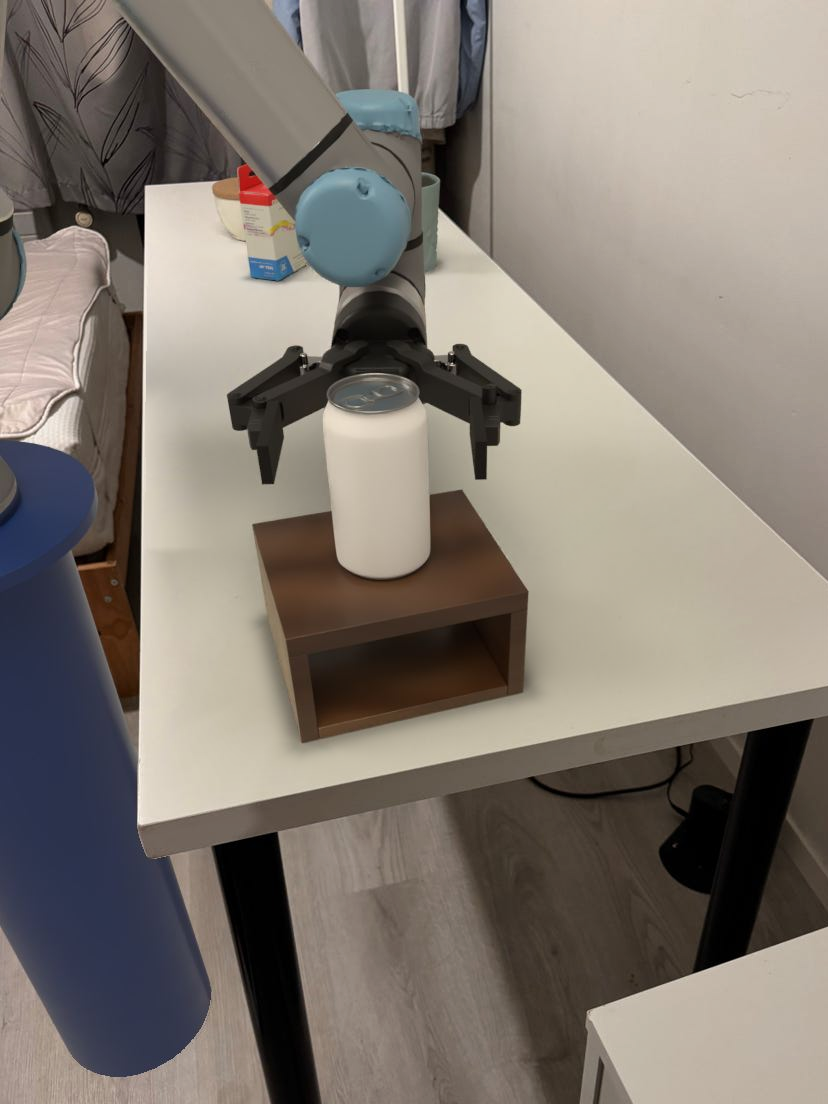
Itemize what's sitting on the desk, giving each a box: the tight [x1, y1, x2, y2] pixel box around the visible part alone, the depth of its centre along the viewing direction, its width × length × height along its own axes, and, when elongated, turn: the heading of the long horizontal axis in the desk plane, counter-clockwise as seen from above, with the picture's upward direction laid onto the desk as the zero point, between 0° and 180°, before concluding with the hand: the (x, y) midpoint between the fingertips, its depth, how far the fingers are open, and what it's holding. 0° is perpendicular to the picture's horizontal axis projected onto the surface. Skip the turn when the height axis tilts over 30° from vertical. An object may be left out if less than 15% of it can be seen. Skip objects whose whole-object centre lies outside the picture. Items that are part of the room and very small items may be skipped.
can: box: [322, 373, 430, 580], centre depth 60 cm, size 6×6×12 cm
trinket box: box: [211, 175, 253, 242], centre depth 148 cm, size 11×11×9 cm
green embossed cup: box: [421, 171, 441, 273], centre depth 137 cm, size 10×10×12 cm
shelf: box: [251, 488, 529, 744], centre depth 67 cm, size 14×16×9 cm
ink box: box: [236, 163, 307, 282], centre depth 133 cm, size 8×5×15 cm, turn 160°
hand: (373, 463), depth 58 cm, fingers open, 13 cm apart
